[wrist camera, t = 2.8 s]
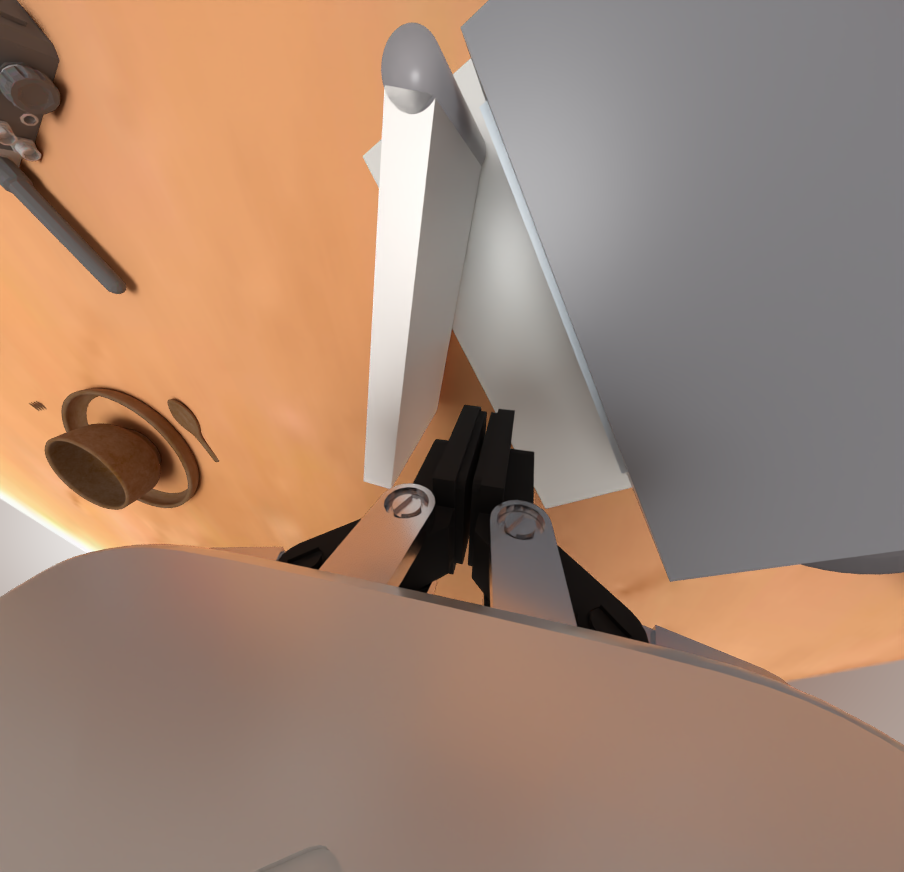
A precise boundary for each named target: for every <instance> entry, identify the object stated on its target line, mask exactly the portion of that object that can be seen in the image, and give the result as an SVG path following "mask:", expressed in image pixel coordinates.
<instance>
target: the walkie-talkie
mask: <svg viewBox="0 0 904 872" xmlns="http://www.w3.org/2000/svg"><path fill="white" fill-rule="evenodd" d="M58 63H59V58H58V55H57V53H56V50H55V48H54V45H53V44H52V42H51V41H50V40H49V39H48V38H47V36H46V35H45V34H44V33H43V32H42V30H41V29H40V28H39V27H38V26H37V24H36V23H35V22H34V21H33V19H32V18H31V17H30V16H29V15H28V13H27V12H26V11H25V10H24V9H23V7H22V6H21V5H20V4H19V3H18V1H17V0H0V185H1V186H2V187H3V188H4V189H5V190H7V191H9V192H11V193H13V194H14V195H15V196H16V197H17V198H18V199H19V200H20V201H21V202H22V203H23V204H24V205H25V206H26V207H27V208H28V209H29V210H30V212H31V213H32V214H33V215H34V216H35V217H36V218H37V219H38V220H39V221H40V222H41V223H42V224H43V225H44V226H45V227H46V228H47V229H48V230H49V231H50V232H51V233H52V234H53V235H54V236H55V237H56V238H57V239H58V240H59V241H60V242H61V243H62V244H63V245H64V246H65V247H66V248H67V249H68V250H69V251H70V252H71V253H72V254H73V255H74V256H75V257H76V259H77V260H78V261H79V262H80V263H81V264H82V265H83V266H84V267H85V268H86V269H87V270H88V271H89V272H90V273H91V274H92V275H93V276H94V277H95V278H96V279H97V280H98V281H99V282H100V283H101V284H102V285H103V286H104V287H105V288H106V289H107V290H108V291H110V292H112V293H115V294H121V293H124V292H125V291H126V284H125V282H124V281H123V280H122V279H121V278H120V277H119V276H118V275H117V274H116V273H115V272H114V271H113V270H112V269H111V268H110V267H109V266H108V265H107V263H106V262H105V261H104V260H103V259H102V258H101V257H100V256H99V255H98V254H97V253H96V252H95V251H94V250H93V249H92V248H91V247H90V246H89V245H88V244H87V242H86V241H85V240H84V239H83V238H82V237H81V236H80V235H79V234H78V233H77V232H76V231H75V230H74V229H73V228H72V227H71V226H70V225H69V224H68V223H67V221H66V220H65V219H64V218H63V217H62V216H61V215H60V214H59V213H58V212H57V211H56V210H55V209H54V208H53V207H52V206H51V205H50V204H49V203H48V202H47V200H46V199H45V198H44V197H43V196H42V195H41V194H40V193H39V192H38V191H37V190H36V189H35V188H34V187H33V182H32V181H31V180H30V179H29V178H28V177H27V176H26V175H25V174H24V173H23V171H22V170H21V169H20V168H19V166H20V163H21V159H22V157H23V158H24V159H26V160H28V161H37V160H39V159H40V158H41V153H40V152H39V151H38V150H37V147H36V145H35V140H36V137H37V133H38V130H39V127H40V123H41V120H42V117H43V114H47V113H49V112H52V111H54V110H56V108H57V107H58V106H59V105H60V93H59V90H58V88H57V87H56V86H55V85H54V84H53V80H54V77H55V74H56V70H57V67H58Z"/></svg>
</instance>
